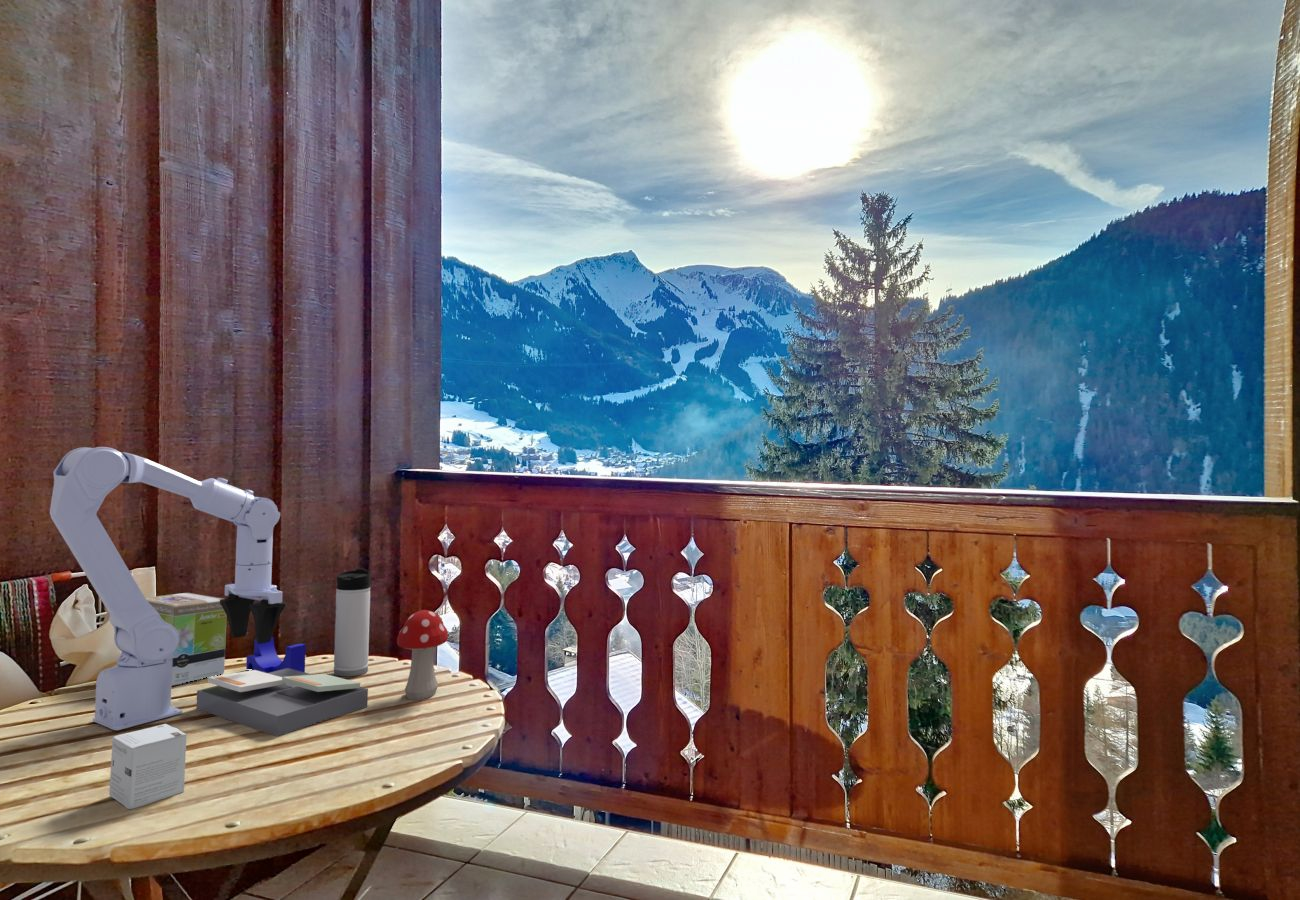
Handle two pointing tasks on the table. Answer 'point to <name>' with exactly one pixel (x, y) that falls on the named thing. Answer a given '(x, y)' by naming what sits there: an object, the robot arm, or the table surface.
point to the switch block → (280, 704)
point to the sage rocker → (320, 682)
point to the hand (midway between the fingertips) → (251, 639)
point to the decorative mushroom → (422, 651)
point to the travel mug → (352, 623)
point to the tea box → (194, 634)
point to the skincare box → (147, 765)
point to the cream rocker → (246, 680)
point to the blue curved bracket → (276, 658)
